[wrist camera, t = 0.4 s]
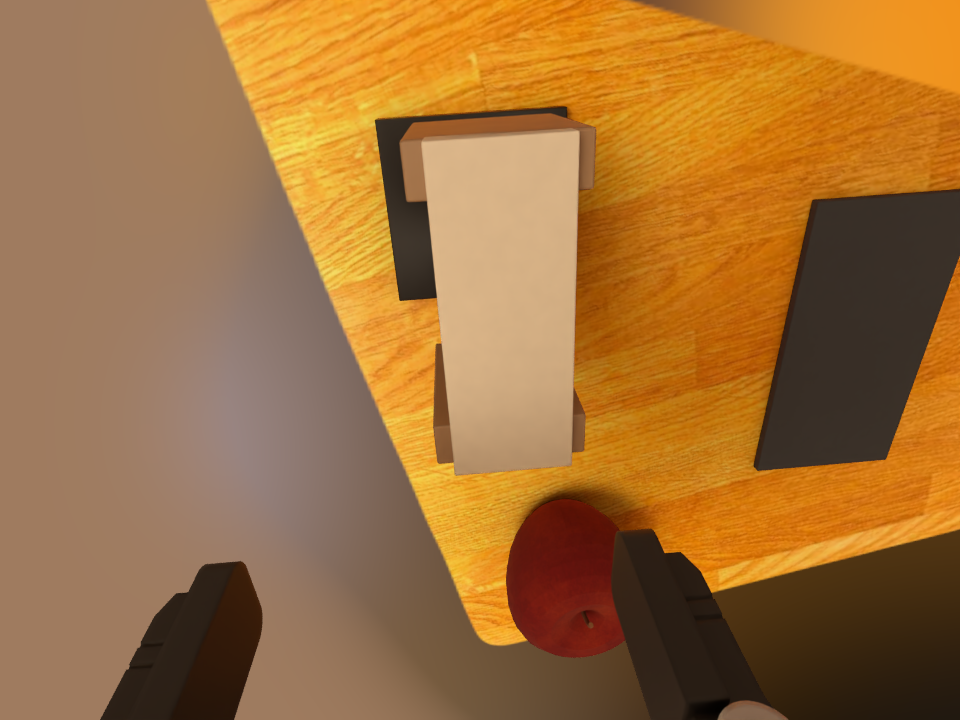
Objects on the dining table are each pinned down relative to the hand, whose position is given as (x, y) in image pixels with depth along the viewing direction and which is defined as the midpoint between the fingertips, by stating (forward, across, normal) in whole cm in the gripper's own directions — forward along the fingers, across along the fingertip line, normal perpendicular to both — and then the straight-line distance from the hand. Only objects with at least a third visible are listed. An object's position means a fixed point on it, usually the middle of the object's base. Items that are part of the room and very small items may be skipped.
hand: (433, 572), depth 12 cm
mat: (+23, -27, +8) cm, 37 cm away
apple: (+23, -8, +22) cm, 33 cm away
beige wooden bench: (+13, -2, -3) cm, 14 cm away
